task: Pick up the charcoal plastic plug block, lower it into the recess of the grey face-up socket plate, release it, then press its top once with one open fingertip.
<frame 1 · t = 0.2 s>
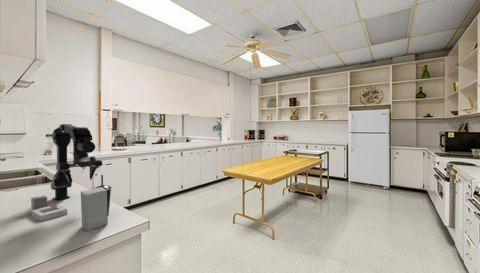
hand: (80, 181, 113), 14 cm above the counter, fingers open, 9 cm apart
socket: (49, 214, 105), on the counter
plug: (39, 211, 109), on the counter
skincare box: (94, 226, 93), on the counter
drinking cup: (102, 216, 103), on the counter
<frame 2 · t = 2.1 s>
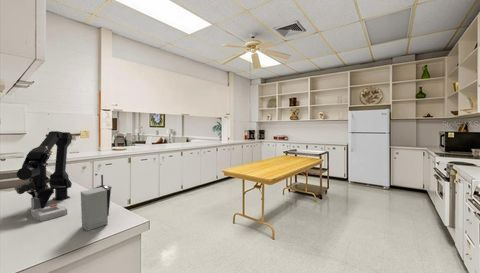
hand: (39, 206, 109), 2 cm above the counter, fingers open, 8 cm apart
nothing on the counter moved.
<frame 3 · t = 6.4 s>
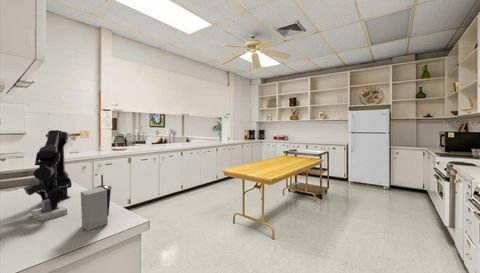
hand: (49, 207, 104), 3 cm above the counter, fingers open, 9 cm apart
plug: (49, 214, 105), resting on socket
everything else where it was.
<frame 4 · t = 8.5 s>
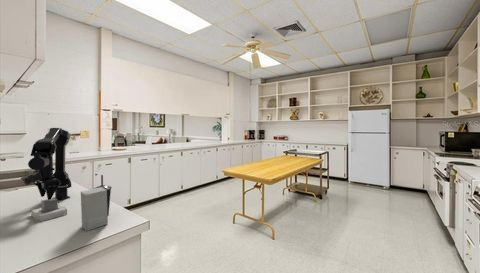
hand: (46, 198, 107), 7 cm above the counter, fingers open, 9 cm apart
plug: (49, 214, 105), resting on socket, touching gripper
everything else where it was.
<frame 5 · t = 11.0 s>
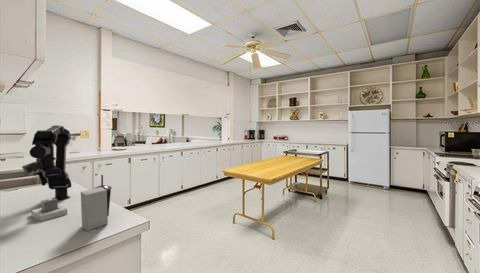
hand: (47, 186, 108), 13 cm above the counter, fingers open, 9 cm apart
plug: (49, 214, 105), resting on socket
everything else where it was.
at the end: plug 0.1 cm off-centre on the socket, point 0.2 cm above the socket's base; plug tilted 0°; the gripper is holding nothing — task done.
